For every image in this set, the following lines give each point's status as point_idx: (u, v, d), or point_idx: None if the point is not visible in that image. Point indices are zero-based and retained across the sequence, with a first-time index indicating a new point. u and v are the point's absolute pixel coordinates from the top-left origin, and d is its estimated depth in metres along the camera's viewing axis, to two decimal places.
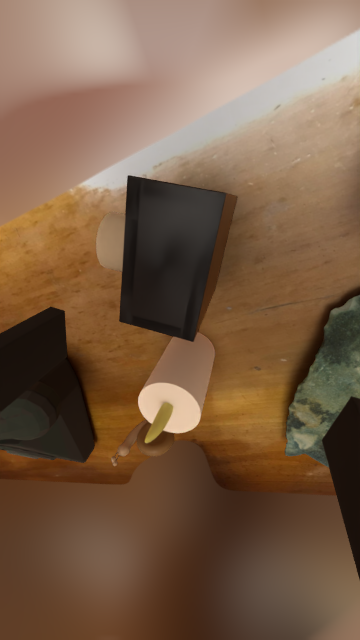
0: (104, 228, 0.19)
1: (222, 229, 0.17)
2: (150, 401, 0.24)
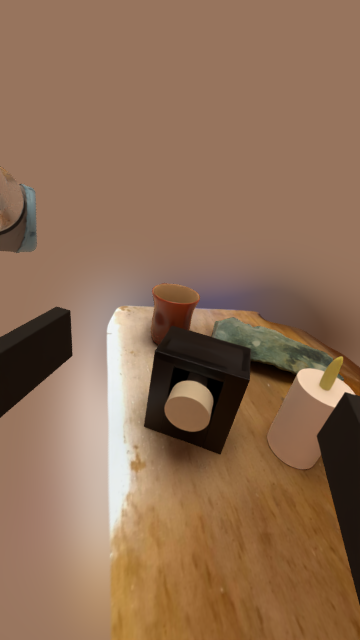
0: (178, 393, 0.24)
1: None
2: (328, 397, 0.27)
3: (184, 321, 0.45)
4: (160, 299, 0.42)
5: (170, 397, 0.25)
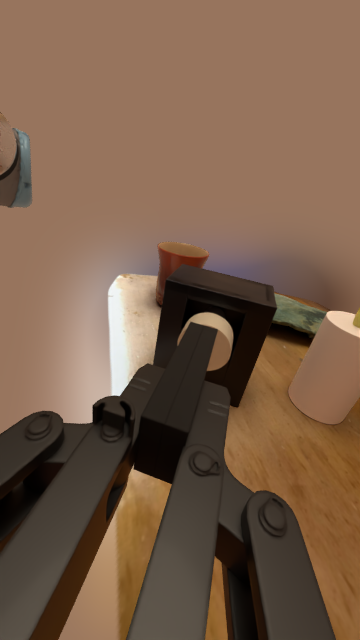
0: (194, 322, 0.21)
1: None
2: None
3: None
4: (167, 252, 0.39)
5: (184, 328, 0.21)
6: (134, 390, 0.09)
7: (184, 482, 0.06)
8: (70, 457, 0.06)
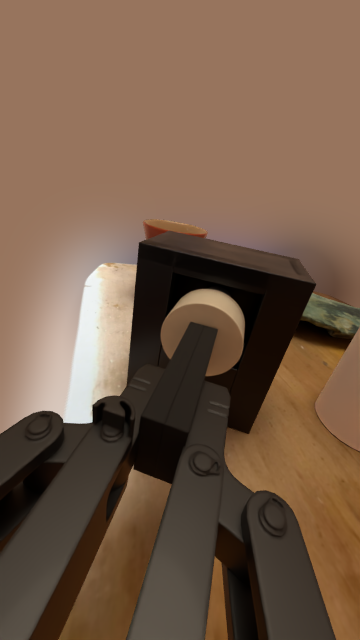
0: (186, 301, 0.13)
1: None
2: None
3: None
4: (154, 228, 0.31)
5: (171, 311, 0.14)
6: (134, 390, 0.09)
7: (184, 482, 0.06)
8: (70, 457, 0.06)
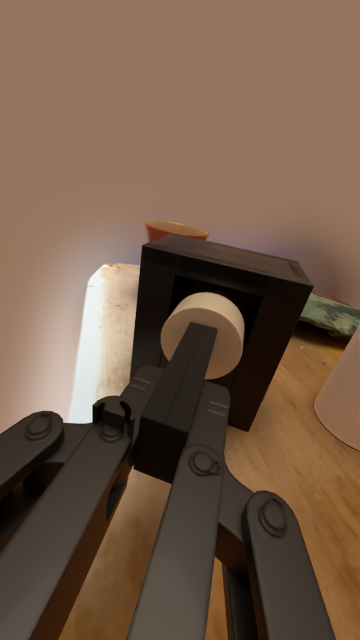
0: (186, 305, 0.14)
1: None
2: None
3: None
4: (156, 229, 0.31)
5: (171, 315, 0.14)
6: (134, 390, 0.09)
7: (184, 482, 0.06)
8: (70, 457, 0.06)
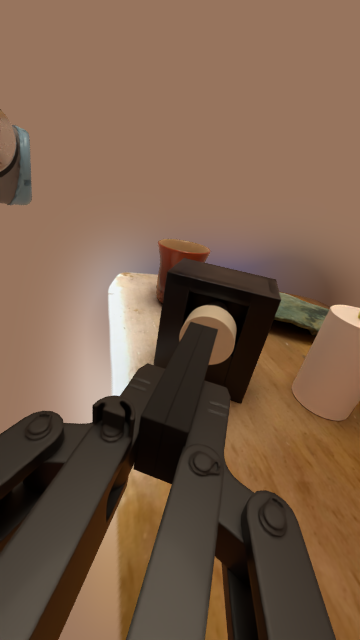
0: (196, 314, 0.20)
1: None
2: None
3: None
4: (167, 248, 0.38)
5: (186, 321, 0.21)
6: (134, 390, 0.09)
7: (184, 482, 0.06)
8: (70, 457, 0.06)
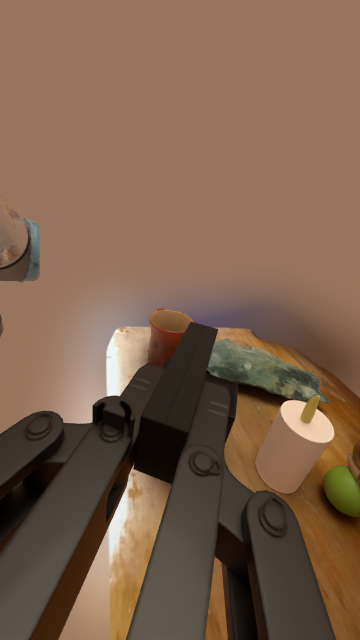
0: None
1: None
2: (307, 431, 0.29)
3: None
4: (156, 328, 0.45)
5: None
6: (134, 390, 0.09)
7: (184, 482, 0.06)
8: (70, 457, 0.06)
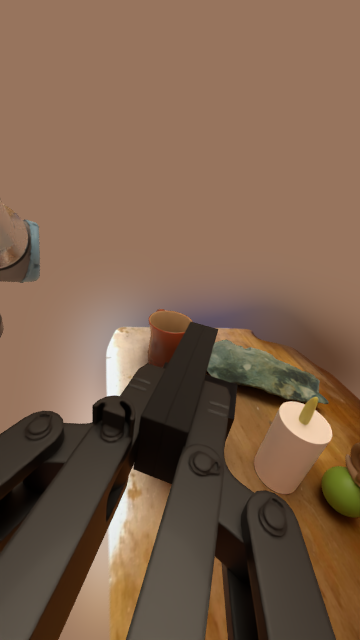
0: None
1: None
2: (305, 432, 0.29)
3: None
4: (156, 329, 0.45)
5: None
6: (134, 390, 0.09)
7: (184, 482, 0.06)
8: (70, 457, 0.06)
